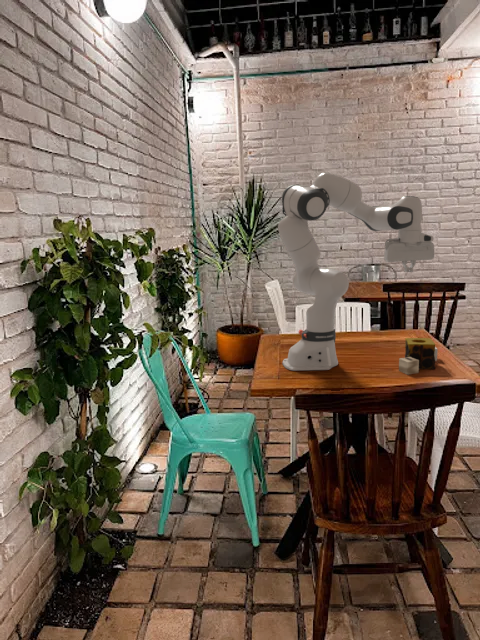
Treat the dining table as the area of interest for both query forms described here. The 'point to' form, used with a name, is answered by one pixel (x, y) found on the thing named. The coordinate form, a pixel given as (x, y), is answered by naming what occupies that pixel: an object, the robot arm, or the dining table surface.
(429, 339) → the candle
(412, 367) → the beech block marked
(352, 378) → the dining table surface
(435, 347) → the cream block marked
